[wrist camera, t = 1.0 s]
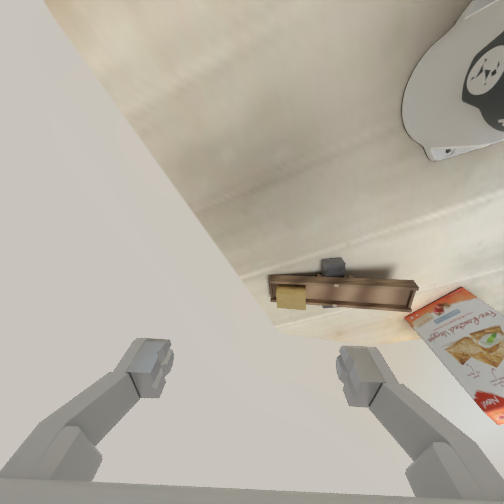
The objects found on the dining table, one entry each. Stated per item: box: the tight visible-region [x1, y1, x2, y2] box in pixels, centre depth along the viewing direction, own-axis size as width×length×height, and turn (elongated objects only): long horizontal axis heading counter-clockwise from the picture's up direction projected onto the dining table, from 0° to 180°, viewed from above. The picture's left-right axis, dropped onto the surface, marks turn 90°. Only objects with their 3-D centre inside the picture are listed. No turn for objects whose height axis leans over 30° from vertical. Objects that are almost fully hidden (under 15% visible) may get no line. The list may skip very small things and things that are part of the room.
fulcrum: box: [321, 258, 345, 308], centre depth 44 cm, size 4×12×2 cm, turn 7°
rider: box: [276, 284, 306, 310], centre depth 43 cm, size 6×4×4 cm, turn 95°
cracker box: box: [405, 287, 504, 425], centre depth 39 cm, size 14×6×21 cm, turn 137°
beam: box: [269, 274, 419, 312], centre depth 42 cm, size 28×6×4 cm, turn 95°
